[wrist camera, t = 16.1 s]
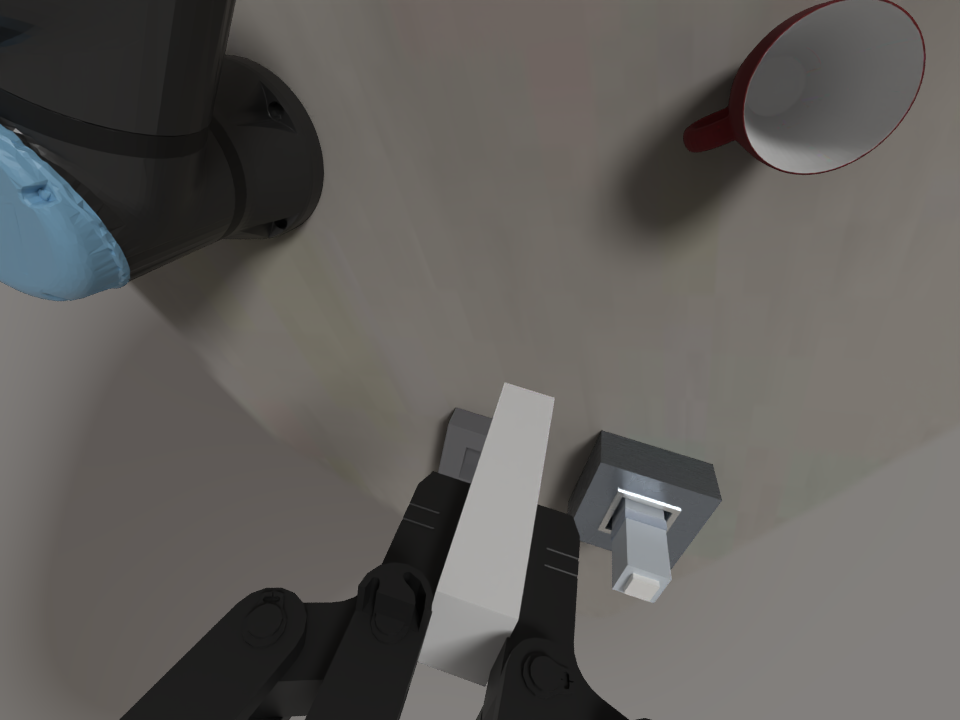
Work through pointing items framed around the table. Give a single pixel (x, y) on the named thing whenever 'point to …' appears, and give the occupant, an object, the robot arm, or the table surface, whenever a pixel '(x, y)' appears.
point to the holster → (464, 444)
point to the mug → (821, 88)
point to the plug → (639, 550)
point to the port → (643, 491)
